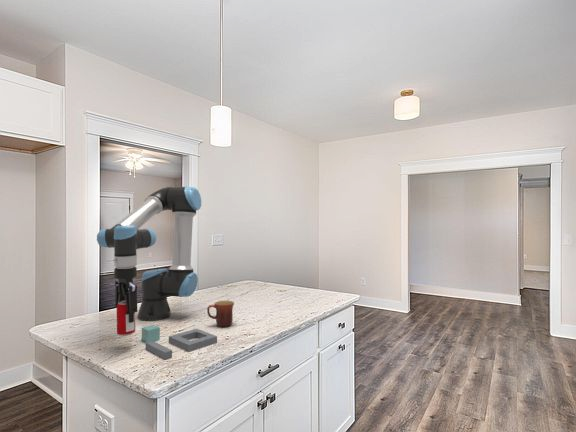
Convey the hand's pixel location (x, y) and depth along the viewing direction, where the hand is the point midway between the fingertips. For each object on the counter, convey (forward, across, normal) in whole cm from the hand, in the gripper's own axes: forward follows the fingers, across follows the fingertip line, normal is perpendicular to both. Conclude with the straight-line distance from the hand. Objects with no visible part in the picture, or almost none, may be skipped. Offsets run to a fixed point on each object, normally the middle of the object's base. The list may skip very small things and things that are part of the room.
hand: (126, 328), depth 126 cm
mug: (+9, +4, +40) cm, 41 cm away
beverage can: (+2, 0, 0) cm, 2 cm away
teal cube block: (+8, -2, +10) cm, 13 cm away
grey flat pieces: (+8, +13, +15) cm, 22 cm away
